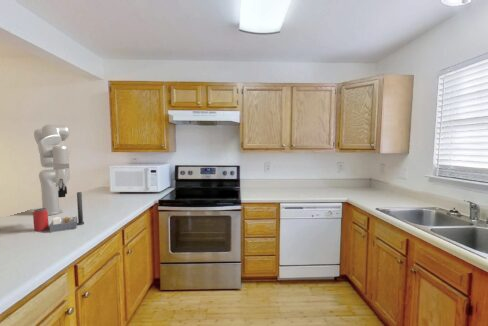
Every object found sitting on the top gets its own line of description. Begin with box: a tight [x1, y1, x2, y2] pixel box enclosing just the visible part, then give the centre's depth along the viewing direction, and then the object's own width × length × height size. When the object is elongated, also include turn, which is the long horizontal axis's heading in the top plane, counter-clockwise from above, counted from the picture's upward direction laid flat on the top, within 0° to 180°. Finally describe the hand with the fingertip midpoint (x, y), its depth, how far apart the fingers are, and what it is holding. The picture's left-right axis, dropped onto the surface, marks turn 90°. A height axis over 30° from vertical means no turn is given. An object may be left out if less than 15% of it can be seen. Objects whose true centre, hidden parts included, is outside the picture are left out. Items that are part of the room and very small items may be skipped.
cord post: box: [76, 191, 85, 226], centre depth 151 cm, size 4×4×20 cm
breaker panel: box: [49, 215, 78, 233], centre depth 146 cm, size 12×12×6 cm
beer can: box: [32, 207, 50, 232], centre depth 141 cm, size 7×7×12 cm
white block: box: [52, 216, 62, 225], centre depth 141 cm, size 4×3×3 cm
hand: (62, 195), depth 144 cm, fingers open, 9 cm apart
